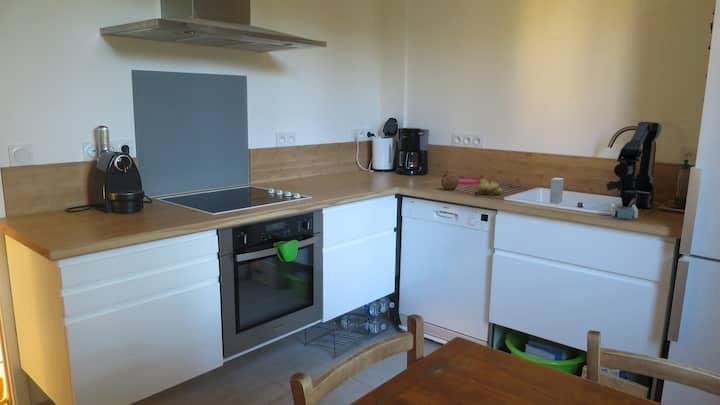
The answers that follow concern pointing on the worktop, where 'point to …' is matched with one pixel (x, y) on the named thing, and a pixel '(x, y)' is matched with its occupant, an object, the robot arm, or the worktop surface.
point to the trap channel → (635, 211)
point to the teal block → (624, 212)
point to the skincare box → (556, 190)
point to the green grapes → (489, 187)
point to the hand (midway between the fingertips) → (624, 210)
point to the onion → (449, 181)
